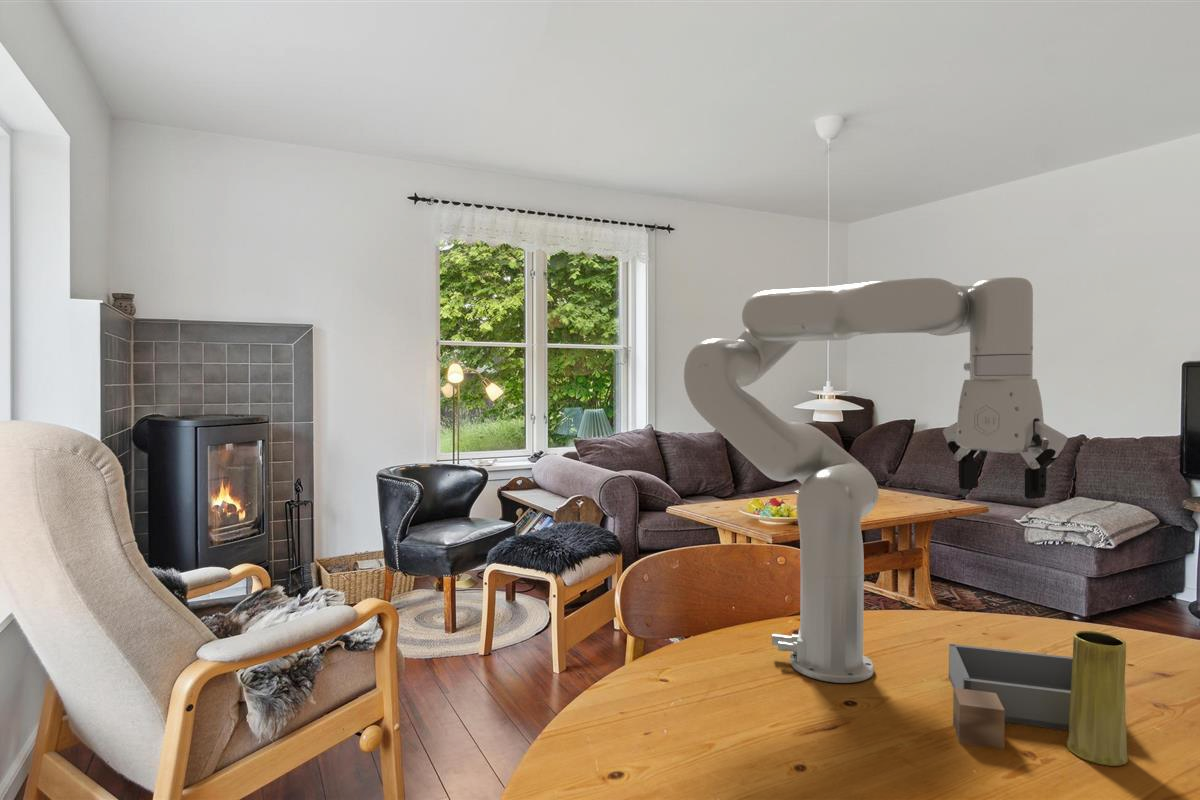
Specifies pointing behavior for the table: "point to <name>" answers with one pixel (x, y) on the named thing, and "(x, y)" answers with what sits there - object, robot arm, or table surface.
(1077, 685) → the vase
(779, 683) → the table surface
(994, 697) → the walnut cube
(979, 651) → the tote
